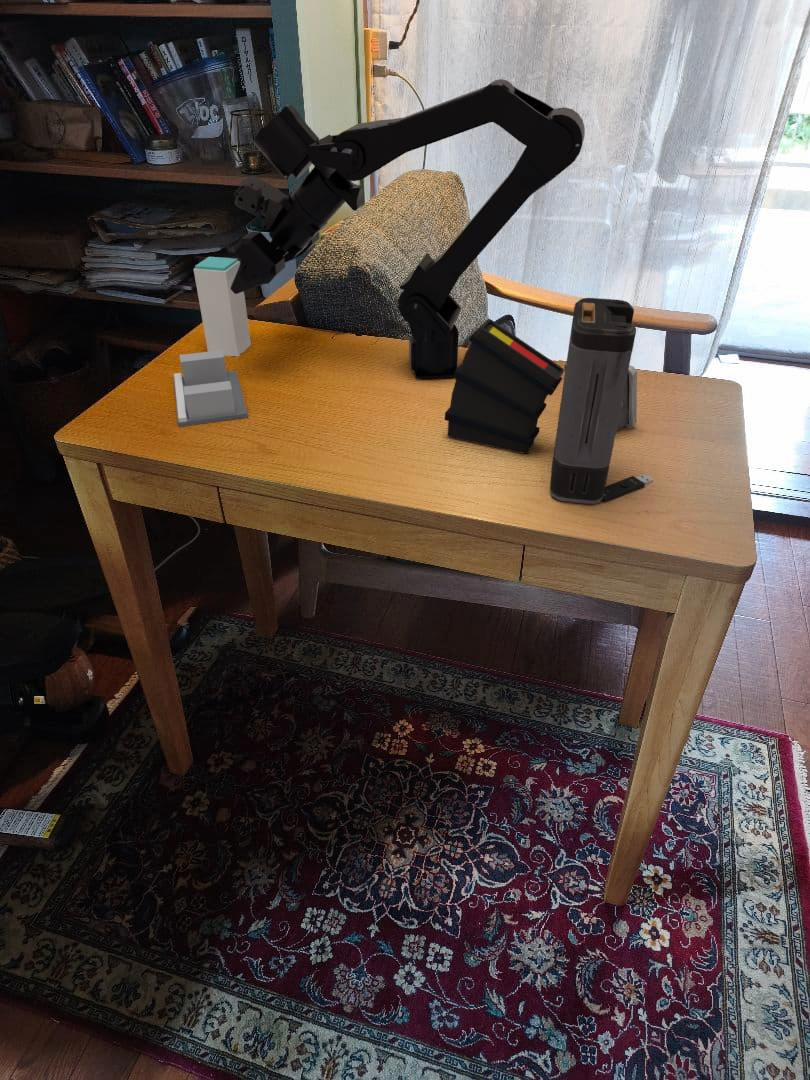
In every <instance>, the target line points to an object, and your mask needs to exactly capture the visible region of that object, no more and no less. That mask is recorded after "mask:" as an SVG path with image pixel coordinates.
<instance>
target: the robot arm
mask: <svg viewBox="0 0 810 1080" xmlns="http://www.w3.org/2000/svg"><path fill="white" fill-rule="evenodd" d="M489 123H493V124H496V125H497V126H499V127H501V129H503V130H504V131H506V132H507V133H508V134H509V135H510V136H511V137H513V138H515V140H516V141H518V142H519V143H521V144H523V145H524V146H526V147H525V148H524V150H523V151H522V154H521V155H520V157H519V159H518V160H517V161H516V163H515V166H513V169H512V170H511V172H510V173H509V174H508V175H507V176H506V177H505V178H504V180H502V182H501V183H500V185H498V187H497V188H496V189H495V191H494V192H492V194H491V195H490V196H489V198H488V199H487V200H486V201H485V203H484V204H483V205H482V206H481V207H480V208H479V210H478V211H477V212H476V214H474V216H473V217H472V218H471V220H470V221H469V222H468V223H467V224H466V225H465V226H464V228H463V229H462V230H461V232H460V233H459V234H458V235H457V236H456V237H455V239H454V240H453V241H452V242H451V243H450V245H449V246H448V247H447V248H446V249H445V251H443V252H442V253H441V254H439V255H438V256H437V257H436V258H434V259H433V258H432V257H431V255H430V253H429V252H426V253H425V254H424V256H423V258H422V259H421V260H420V262H418V264H417V266H416V267H415V269H414V270H412V271H410V272H409V273H408V275H407V276H406V278H405V279H404V280H403V282H402V283H401V284H400V286H399V290H402V291H401V292H400V294H399V297H398V298H397V305H398V307H397V308H398V311H399V314H400V316H401V317H402V318H403V320H404V321H406V322H407V323H408V326H409V330H410V332H411V334H412V336H410V337H409V339H408V364H409V367H410V370H411V371H413V374H414V378H415V379H416V380H426V379H429V380H430V379H447V378H449V379H450V378H453V375H454V372H455V370H456V369H457V368H458V355H459V338H460V337H459V334H460V332H459V330H458V328H457V326H456V324H455V323H456V322H457V321H458V318H459V316H460V313H461V311H462V307H461V305H459V304H458V302H457V301H456V300H455V299H454V298H453V297H452V295H450V294H451V292H452V290H453V289H454V287H455V285H456V284H457V282H458V280H459V279H460V277H461V276H462V275H463V274H464V273H465V271H466V270H467V269H468V268H469V267H470V266H471V265H472V263H473V262H474V261H475V260H476V259H477V258H478V256H479V255H480V254H481V253H482V252H483V251H484V250H485V248H486V247H487V246H488V245H489V244H490V243H491V241H492V240H493V239H494V238H495V237H496V236H497V234H499V232H500V231H501V230H502V229H503V227H505V226H506V224H507V223H508V222H509V220H510V219H511V218H512V217H513V216H514V215H515V214H516V213H517V211H518V210H519V209H520V208H521V207H522V206H523V205H524V204H525V203H526V201H527V200H528V199H529V198H530V197H531V196H532V195H533V194H534V193H536V192H537V191H539V190H540V189H542V188H543V187H545V186H546V185H547V184H549V183H550V182H551V181H553V180H554V179H555V178H556V177H557V176H559V175H560V174H561V173H562V172H564V170H566V169H567V168H569V166H570V165H572V164H573V163H574V162H575V161H576V159H577V158H578V157H579V155H580V154H581V149H582V147H583V143H584V140H585V130H586V128H585V124H584V120H583V117H581V116H580V114H579V113H578V112H576V111H575V110H574V109H573V108H568V107H566V106H565V107H556V108H554V107H552V106H551V105H549V104H548V103H546V102H545V101H543V100H541V99H539V98H536V96H533V95H530V94H528V93H527V92H525V91H522V90H521V89H519V88H517V87H516V86H514V85H513V84H512V83H511V82H509V81H508V80H506V79H502V78H501V79H495V80H493V81H491V82H490V83H489V84H487V85H485V86H483V87H481V88H478V89H476V90H473V91H470V92H468V93H464V94H461V95H460V96H459V95H458V96H456V97H454V98H451V99H449V100H447V101H444V102H440V103H438V104H435V105H432V106H430V107H428V108H424V109H422V110H420V111H417V112H414V113H412V114H410V115H406V116H404V117H398V118H390V119H380V120H374V121H367V122H360V123H357V124H354V125H353V126H351V127H349V128H347V129H345V130H343V131H342V132H340V133H338V134H335V135H334V134H333V135H331V134H328V135H326V136H324V137H322V138H321V139H320V137H319V136H318V135H317V134H316V133H315V132H314V131H313V130H312V128H311V127H310V126H309V125H308V124H307V123H306V122H305V120H304V119H303V117H302V116H301V114H300V113H299V111H298V110H297V109H296V107H295V106H294V105H293V104H291V103H290V104H288V105H285V106H283V108H282V109H281V110H280V111H279V113H277V114H275V116H274V117H273V118H272V119H271V120H270V121H269V122H268V123H267V124H264V125H263V126H262V127H261V129H260V130H259V131H258V133H257V134H256V135H255V138H254V140H253V145H254V146H255V147H256V148H257V149H258V150H259V152H260V153H262V155H263V156H264V157H265V158H266V159H267V160H268V161H269V162H270V163H271V165H273V167H274V168H275V169H276V170H277V171H278V172H279V174H280V175H281V176H282V177H283V178H284V179H286V178H288V179H289V178H291V177H292V175H293V178H294V179H295V180H298V179H299V178H300V177H301V176H302V175H304V174H305V173H306V172H307V170H308V169H309V168H310V167H311V166H312V165H313V166H314V167H313V168H312V169H311V170H310V171H309V173H308V174H307V175H306V176H305V178H304V179H303V180H302V181H301V183H299V185H298V186H297V187H296V188H295V189H294V190H292V191H291V192H290V193H289V195H287V194H285V193H284V192H282V190H281V189H278V188H277V187H275V186H273V185H272V184H270V183H268V182H266V181H265V180H263V179H261V178H260V177H257V176H255V175H250V176H248V177H246V178H244V179H243V180H241V181H240V184H239V185H238V188H237V189H236V190H235V191H234V193H233V196H234V197H235V201H234V204H235V206H236V208H239V209H240V210H244V211H245V212H247V213H250V214H251V215H254V216H256V217H257V218H259V219H262V221H261V222H260V223H259V224H260V226H261V227H262V228H263V229H264V230H265V231H266V232H269V233H268V235H269V237H270V238H271V241H269V239H268V238H267V237H266V236H265V235H264V234H263V233H262V232H261V231H252V230H251V231H250V232H249V233H247V234H246V235H244V236H243V237H241V238H240V239H239V240H238V241H237V243H236V244H235V245H234V246H233V251H234V253H235V254H236V257H238V259H239V260H240V266H239V269H238V271H237V273H236V276H235V278H234V281H233V283H232V285H231V288H230V289H231V290H232V291H233V292H234V293H235V294H238V293H241V292H243V291H244V292H246V291H248V290H252V289H254V288H256V287H259V286H262V285H267V284H268V285H269V284H270V283H271V282H272V281H274V280H275V279H276V278H277V277H278V276H279V275H280V274H281V273H282V272H283V270H284V269H285V268H286V263H288V262H291V261H292V260H295V259H297V258H299V257H300V256H302V255H304V254H305V253H306V252H308V251H309V250H310V249H311V248H312V247H313V246H314V245H315V244H316V243H317V242H318V240H319V239H320V231H322V230H323V229H324V228H325V227H326V225H328V222H329V221H330V220H331V218H332V217H333V216H334V215H335V214H336V213H337V212H338V211H339V210H340V209H341V207H342V206H343V205H344V204H345V203H346V204H347V206H348V207H349V208H350V209H351V210H352V211H354V212H356V211H357V210H359V209H361V207H363V205H364V204H365V198H364V184H357V183H356V184H355V183H354V182H356V181H361V180H364V179H366V178H367V177H368V176H370V175H371V174H374V173H376V172H377V171H378V170H380V169H382V168H384V167H385V166H387V165H388V164H390V163H392V162H393V161H395V160H396V159H398V158H399V157H401V156H402V155H403V156H404V155H405V154H406V153H409V152H411V151H415V150H417V149H419V148H423V147H427V146H428V145H431V144H434V143H437V142H440V141H442V140H446V139H448V138H450V137H453V136H456V135H459V134H462V133H464V132H467V131H470V130H473V129H476V128H478V127H482V126H484V125H487V124H489Z"/></svg>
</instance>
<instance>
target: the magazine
mask: <svg viewBox="0 0 810 1080" xmlns="http://www.w3.org/2000/svg"><path fill="white" fill-rule="evenodd" d="M468 341H469V342H471V343H470V345H469V346H468V348H467V350H466V351H465V353H464V356H463V359H462V362H461V363H460V365H459V366H457V369H456V370H455V372H454V375H453V377H452V378H453V379H455V382H454V386H453V387H452V389H453V390H452V392H451V397H450V406H449V407H448V409H446V411H444V412H445V413H444V421H447V422H448V423H447V424H448V425H447V437H449V438H452V439H457V440H461V441H467V442H469V443H470V442H471V443H476V444H480V445H483V446H488V447H489V446H490V447H494V448H498V449H503V450H507V451H512V452H516V453H521V454H529V452H530V450H531V449H532V447H533V445H534V444H535V440H536V438H537V437H538V436H539V435H538V434H539V433H540V429H541V428H540V427H539V426H537V425H538V421H539V419H540V417H541V415H542V414H543V412H544V410H545V409H546V408H547V403H546V399H547V398H548V396H552V395H553V393H555V391H556V389H557V388H558V386H559V385H560V383H561V382H562V380H564V377H562V376H563V374H565V368H563V367H562V366H560V365H559V364H557V363H556V362H555V361H553V360H552V359H550V358H549V357H547V356H546V355H544V354H543V353H541V352H540V351H538V350H537V349H535V348H534V347H532V346H531V345H529V344H528V343H526V341H523V340H522V339H521V338H519V337H517V336H516V335H514V334H513V333H512V332H510V331H509V330H508V329H506V328H504V327H503V326H501V325H500V324H498V323H497V322H495V321H494V320H493V319H490V318H487V319H486V320H485V321H484V322H483V323H482V324H481V325H480V326H479V327H478V328H477V329H476V331H475V330H474V332H473V333H472V334H471V335H470V338H469V339H468Z"/></svg>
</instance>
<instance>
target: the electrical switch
mask: <svg viewBox="0 0 810 1080" xmlns="http://www.w3.org/2000/svg"><path fill="white" fill-rule="evenodd" d="M563 367H564V370H565V369H566V364H564V366H563ZM637 397H638V371H637V370H636V368H635V366H633V365H630V364H629V369H628V374H627V379H626V384H625V390H624V396H623V401H622V406H621V410H620V414H619V420H618V425H617V430H616V432H617V431H618V430H620V429H622V428H624V427H626V428H628V429H632V428H633V427H634V426H635V425H636V423H637V422H638V421H637V416H638V415H637V413H638V411H637V409H638V408H637V407H638V405H637V404H638V401H637V400H638V399H637Z"/></svg>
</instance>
